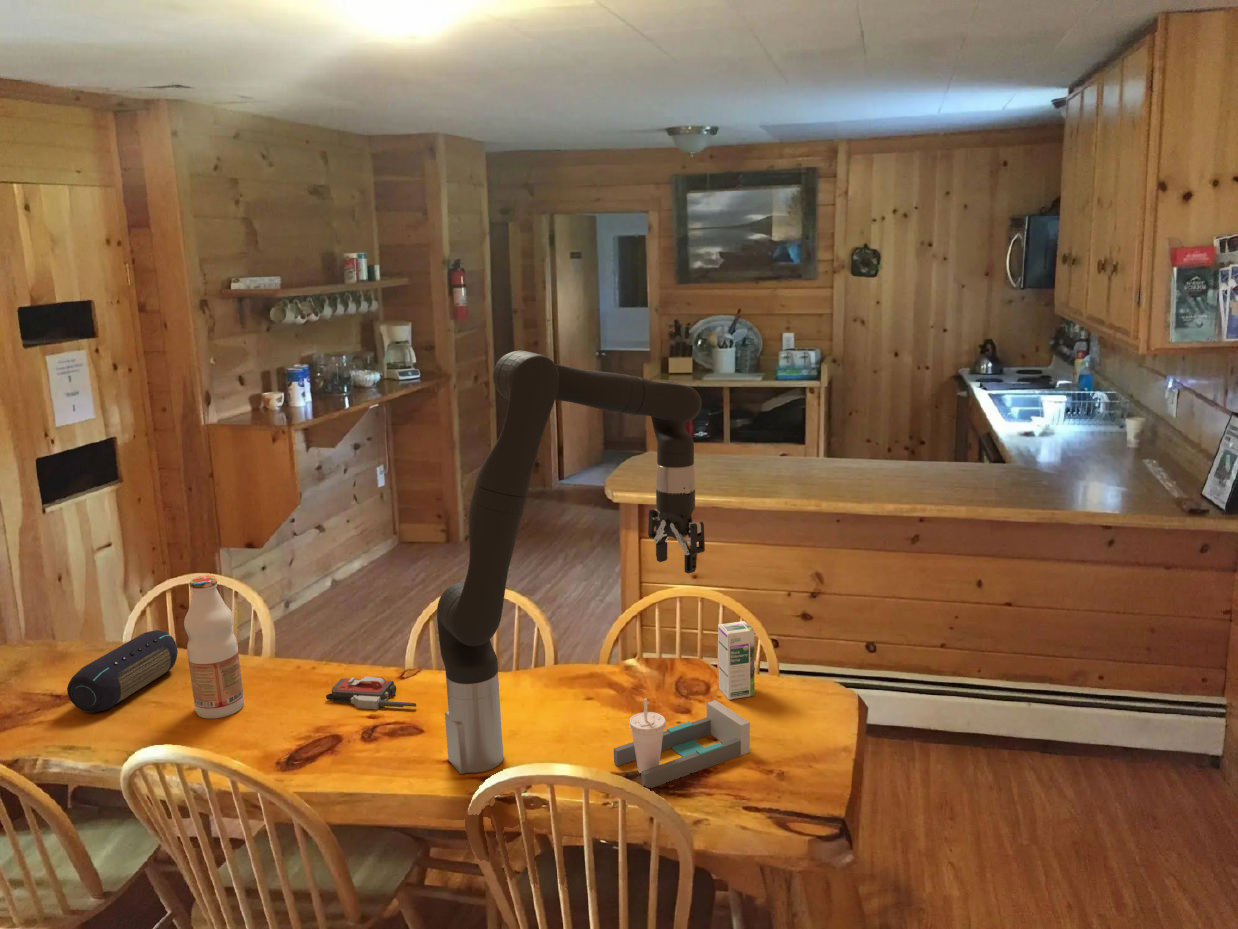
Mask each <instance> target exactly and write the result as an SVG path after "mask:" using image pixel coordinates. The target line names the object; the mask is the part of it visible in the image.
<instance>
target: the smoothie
mask: <svg viewBox="0 0 1238 929" xmlns="http://www.w3.org/2000/svg"><path fill="white" fill-rule="evenodd" d="M666 725H667V724H666V718H665V717H664V716H663V715H662V714H659V713H657V712H655V711H654V712H653V711H648V699H647V697H644V698H643V712H639V713H635V714H634V715H632V716H631V717H630V718H629V725H628V726H629V729H630V730H631V734H632V735H631V736H632V740H633V741H632V742H634V748H635V754H636V760H635V761H636V765H637V771H638V773H639V774H640V773H641V771H644V770H647V769H650V768H653V767H655V766H658V765H661V755H662V751H661V748H662V739H663V732H664V729H666V727H667V726H666Z"/></svg>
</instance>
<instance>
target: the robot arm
mask: <svg viewBox="0 0 1238 929" xmlns="http://www.w3.org/2000/svg"><path fill="white" fill-rule="evenodd" d="M492 372H493V374H492V380H493V384H494V387H495V389H496V391H497V392H498V393H499V394H500V395H501V396H502V397H503V398H504V399H505V400H507V401H508V404H507V408H506V414H505V418H504V423H503V425H502V426H503V427H502V428H501V429H502V430H501V432H500V434H499V437H498V439H497V440H496V442H495V444H494V445H493V447H492V449H491V450H490V452H489V453H488V455H487V456H486V457H485V459H484V462H483V463H482V464H481V467H480V469H479V470H478V472H477V476H476V479H475V483H474V487H473V489H472V490H473V491H472V495H471V499H470V503H469V508H468V543H469V546H468V547H469V561H468V567H467V573H466V576H465V580H464V581H461V582H460V581H458V582H456V583H453V584H451V585H449V586H448V587H447V588H446V589H445V590H444V591H443V592H442V594H441V595H440V597H439V600H438V602H437V607H436V620H437V621H436V623H437V631H438V632H437V633H438V642H439V649H440V650H439V651H440V655H441V659H442V662H443V665H444V669H445V670H444V671H445V679H446V680H445V681H446V684H445V685H446V694H447V698H446V699H447V709H448V711H445V713H444V722H445V734H446V735H445V737H446V748H447V760H448V761H449V763H450V764H451V765H452V766H453V767H454V768H455V769H456V771H457V772H458V773H459V774H461V775H464V774H468V773H475V774H476V773H483V772H487V771H491V770H493V769H495V768H497V767H498V766H499V765H500V764H501V763H502V761H503V760H504V745H503V744H504V743H503V730H502V729H503V728H502V716H501V714H502V712H501V698H500V696H501V695H500V681H499V679H500V678H499V665H498V664H499V662H498V658H497V654H496V652H495V649H494V647H493V645H492V642H491V639H492V638H493V637H494V635H495V634H496V633H497V631H498V629H499V626H500V624H501V619H502V614H503V609H504V601H505V596H506V595H505V594H506V585H507V580H508V574H509V570H510V566H511V565H510V564H511V560H512V557H513V554H514V549H515V544H516V541H517V536H518V533H519V529H520V525H521V522H522V518H523V514H524V511H525V507H526V502H527V499H528V496H529V495H528V494H529V491H530V490H529V489H530V485H531V480H532V478H533V473H534V468H535V464H536V461H537V457H538V452H539V449H540V446H541V441H542V437H543V434H544V432H545V428H546V426H547V423H548V420H549V417H550V415H551V412H552V410H553V407H554V404H555V401H561V402H568V403H573V404H578V405H583V406H586V407H589V408H593V409H598V410H603V411H608V412H612V413H618V414H624V415H625V414H626V415H633V416H647V417H651V418H650V419H651V423H652V427H653V432H654V434H655V439H656V447H657V448H656V453H657V454H656V455H657V456H656V461H657V462H656V471H655V496H656V497H655V504H656V505H655V508H652V509H651V508H650V509H649V510H648V527H647V528H648V529H647V530H648V531H647V532H648V533H647V536H648V538H649V539H652V540H653V541H654V544H655V556H656V561H657V562H658V563H662V562H666V561H667V560H668V542H667V541H668V539H669V538H671V537H672V538H673V539H674V540H677V543H678V545H679V546H681V547H682V549H683V551H684V573H686V574H691V573H695V572H696V570H697V555H698V554H701V553H702V554H703V553H704V552H705V550H706V547H705V525H704V522H703V521H698V522H695V521H693V518H692V514H693V512H694V511H695V510H696V471H695V443H694V437H693V436H692V435H691V433H689V431H687V429H685V425H684V423H689V422H690V421H692V420H695V419H696V418H697V416H699V414H700V412H701V409H702V398H701V396H700V394H699V392H698V391H697V390H696V389H695V388H694V387H692V386H689V385H686V384H683V383H677V382H674V381H662V382H659V381H654V380H650V379H648V378H644V377H641V376H636V375H630V374H625V373H624V374H623V373H617V372H609V371H600V370H593V369H592V370H591V369H584V368H577V367H572V366H571V367H570V366H566V365H561V364H558V363H555V362H554V361H553V359H551V358H549V357H548V356H545V355H544V354H539V353H535V352H531V351H527V350H516V351H510V352H509V353H505V354H504V355H503V356H502V357H500V358H499V359H498V361H497V362H496V364H495V366H494V370H493V371H492ZM687 537H688V538H687ZM697 543H698V544H697ZM688 544H689V545H690V547H689V545H688Z"/></svg>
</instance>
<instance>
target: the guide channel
mask: <svg viewBox="0 0 1238 929" xmlns="http://www.w3.org/2000/svg"><path fill="white" fill-rule="evenodd" d="M750 723H751V722H750V721H748V720H747V719H745V718H744V717H742V716H741V715H739V714H738V713H736V712H735V711H733V710H731V709H730V708H729V707H727V706H725V705H723V704H722V703H720V702H719V700H716V699H715V700H711V701H709V702H706V717H704V718H701V719H698V720H695V721H692V722H691V721H687V722H683V723H680V724H678V725H675V726H672V727H668V728H667V729H666V730H665V731H663V739H662V748H661V752H664V751H667V750H669V749H672V750H673V751H674V752H676V753H677V754H678V755H679V754H680V755H679V756H681V757H678V758H676V759H672V760H670V761H668V762H664V763H660V765H658V766H655V767H653V768H650V769H647V770H644V771H641V774H640V775H641V778H640V779H641V780H640V782H641V784H642V785H645V786H646V787H649V788H650V787H651V789H653V788H656V787H659V786H661V785H664V784H666V782H667V783H669V781H670V782H672V780H673V781H675V780H678V779H681V778H683V777H686V776H688V775H691V774H690V773H692V774H694V773H697V772H699V771H702V770H705V769H707V768H708V769H709V768H711V767H713V766H716V765H718V764H722V763H725V762H727V761H730V760H732V759H735V758H739V757H740V756H744V755H746V754H749V753H751V752H750V751H751V750H750V748H751V746H750V745H751V744H750V743H751V742H750V739H751V736H750V735H751V734H750V730H751V728H750V727H751V726H750V725H751V724H750ZM710 735H711V736H712V737H714V738H715V739H716V740H718V742H715V743H713V744H710V745H708V746H703V745H702V744H700V743H699V742H697V740H698V739H701V738H704V737H707V736H710ZM719 741H720V742H721V743H720V742H719ZM633 760H635V761H637V760H636V754H635V748H634V741H632V742H628V743H627V744H623V745H620V746H617V747H613V763H615V764H616V765H617V766H618V767H620V766H619V765H621V766H622V764H623V765H626V764H628V763H627V762H629V763H631V762H630V761H632V762H634V761H633ZM625 763H626V764H625ZM615 764H614V765H615ZM616 765H615V766H616ZM617 766H616V767H617ZM680 777H681V778H680ZM674 779H675V780H674ZM642 785H641V786H642Z"/></svg>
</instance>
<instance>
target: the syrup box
mask: <svg viewBox="0 0 1238 929" xmlns="http://www.w3.org/2000/svg"><path fill="white" fill-rule="evenodd" d="M717 636H718V637H717V638H718V639H717V640H718V641H717V642H718V643H717V645H718V646H717V648H718V650H717V651H718V688H719V690H720V691H721V693H722V694H723V695H724V696H725V698H727V700H729V701H732V700H734V699H742V698H749V697H755V630H754V628H752V626H751V625H750V624H749V623H748V622H746V621H745V620H740V621H735V622H728V623H719V624H717Z"/></svg>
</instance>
